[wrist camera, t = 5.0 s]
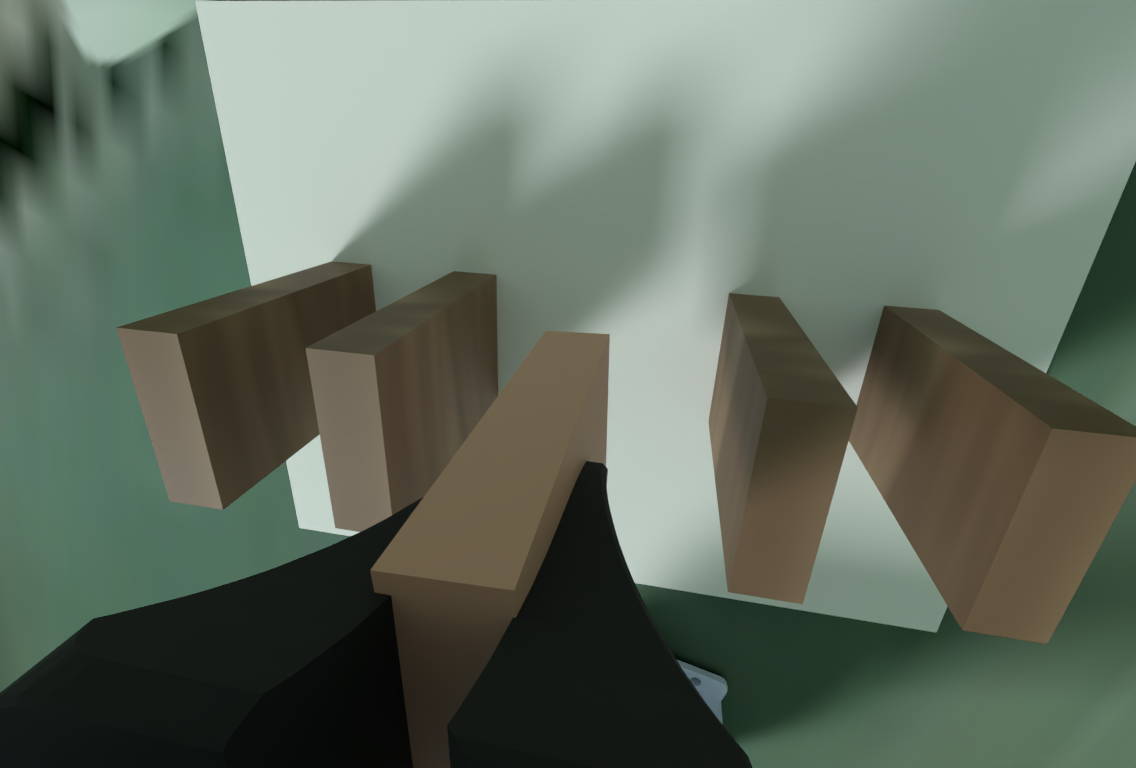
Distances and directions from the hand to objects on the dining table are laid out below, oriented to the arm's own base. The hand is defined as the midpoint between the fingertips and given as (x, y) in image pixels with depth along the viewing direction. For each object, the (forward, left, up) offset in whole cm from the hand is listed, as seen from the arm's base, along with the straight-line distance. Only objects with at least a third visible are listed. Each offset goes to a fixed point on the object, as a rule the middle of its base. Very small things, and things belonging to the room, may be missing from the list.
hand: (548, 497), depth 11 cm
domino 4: (-5, -1, -9) cm, 10 cm away
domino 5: (-9, -3, -9) cm, 13 cm away
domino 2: (+5, +1, -9) cm, 10 cm away
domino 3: (0, 0, -4) cm, 4 cm away
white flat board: (0, 0, -10) cm, 10 cm away
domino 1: (+9, +2, -9) cm, 13 cm away
